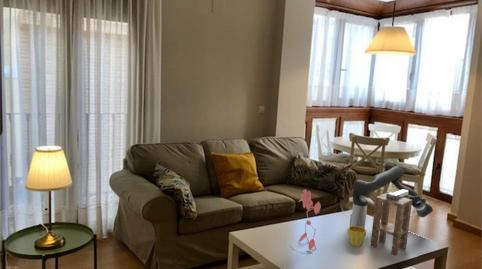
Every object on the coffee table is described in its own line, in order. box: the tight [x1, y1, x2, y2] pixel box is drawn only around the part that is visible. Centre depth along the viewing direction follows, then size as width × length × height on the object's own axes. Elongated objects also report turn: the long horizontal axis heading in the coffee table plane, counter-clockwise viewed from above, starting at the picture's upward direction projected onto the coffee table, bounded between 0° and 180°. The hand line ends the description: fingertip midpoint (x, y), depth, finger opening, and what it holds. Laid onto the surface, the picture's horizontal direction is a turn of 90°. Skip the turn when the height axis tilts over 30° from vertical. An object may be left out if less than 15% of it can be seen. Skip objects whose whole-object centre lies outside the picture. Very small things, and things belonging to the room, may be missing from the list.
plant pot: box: [347, 226, 367, 247], centre depth 237 cm, size 10×10×10 cm
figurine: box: [298, 189, 322, 255], centre depth 228 cm, size 15×26×35 cm, turn 17°
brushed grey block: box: [386, 189, 409, 201], centre depth 235 cm, size 20×6×3 cm, turn 134°
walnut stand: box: [369, 192, 413, 256], centre depth 233 cm, size 16×14×31 cm
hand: (411, 195), depth 250 cm, fingers open, 8 cm apart
